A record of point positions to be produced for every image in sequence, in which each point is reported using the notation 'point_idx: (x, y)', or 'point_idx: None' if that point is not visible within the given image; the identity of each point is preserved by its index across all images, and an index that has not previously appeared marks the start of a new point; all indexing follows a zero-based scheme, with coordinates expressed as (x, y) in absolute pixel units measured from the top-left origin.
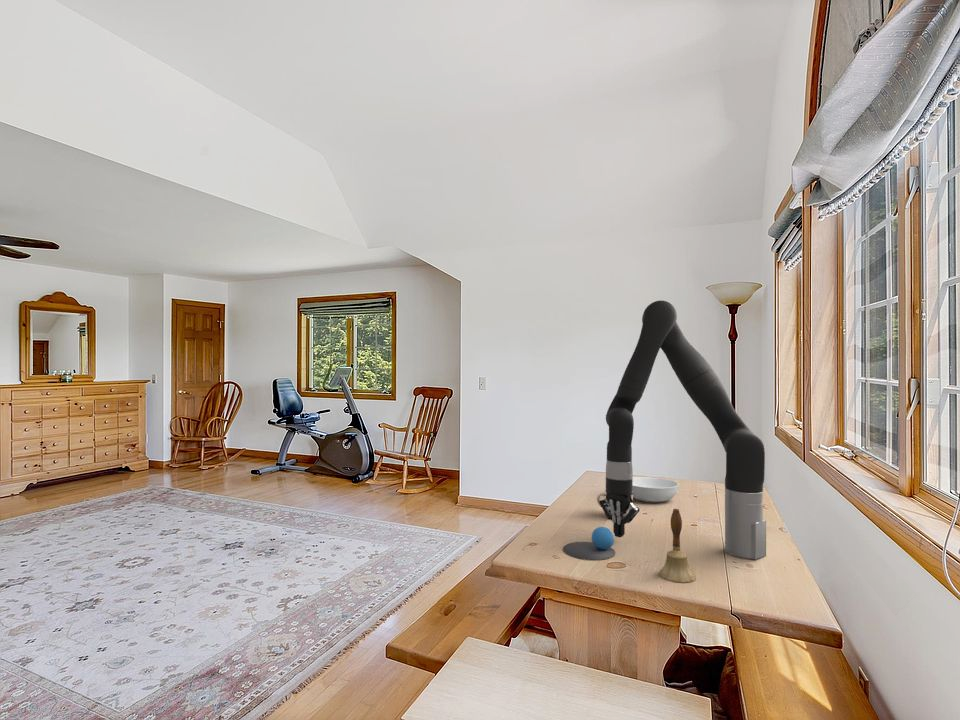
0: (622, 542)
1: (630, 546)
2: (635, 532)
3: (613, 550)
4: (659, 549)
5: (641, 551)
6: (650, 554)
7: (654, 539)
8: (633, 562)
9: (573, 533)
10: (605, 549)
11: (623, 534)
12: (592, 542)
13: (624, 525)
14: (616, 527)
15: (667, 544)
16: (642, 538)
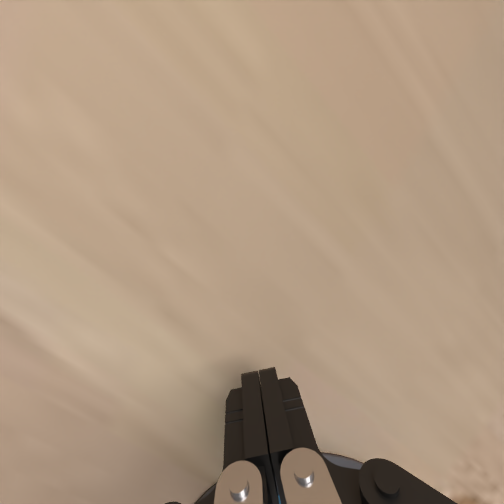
0: (276, 353)
1: (345, 355)
2: (146, 131)
3: (353, 466)
4: (465, 247)
5: (426, 354)
6: (478, 343)
7: (332, 125)
8: (486, 463)
9: (37, 491)
10: None
11: (293, 387)
12: None
13: (316, 444)
14: (274, 474)
15: (445, 125)
16: (277, 190)
